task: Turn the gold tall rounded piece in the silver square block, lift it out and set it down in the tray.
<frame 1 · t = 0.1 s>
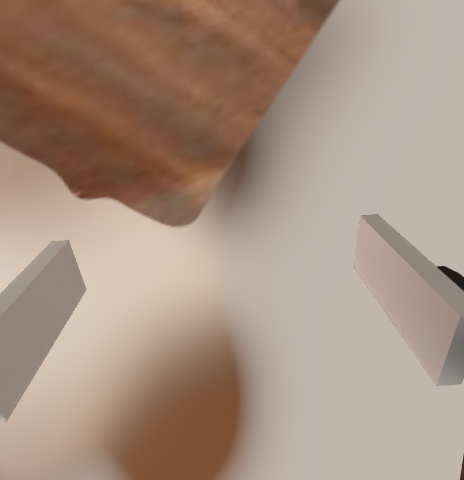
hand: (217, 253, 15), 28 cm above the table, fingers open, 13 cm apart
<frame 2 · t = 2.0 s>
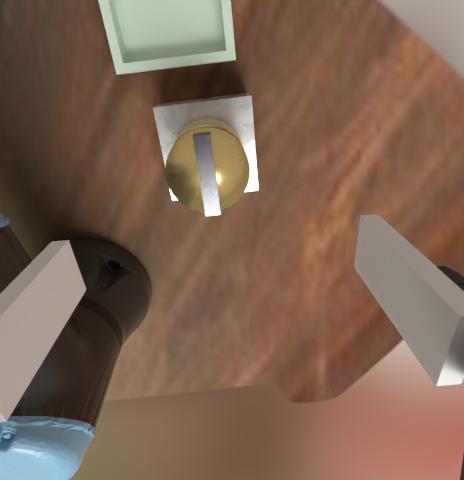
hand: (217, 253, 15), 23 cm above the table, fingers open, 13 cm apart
gold tall rounded piece: (208, 156, 29), in the silver square block
silver square block: (209, 142, 35), on the table
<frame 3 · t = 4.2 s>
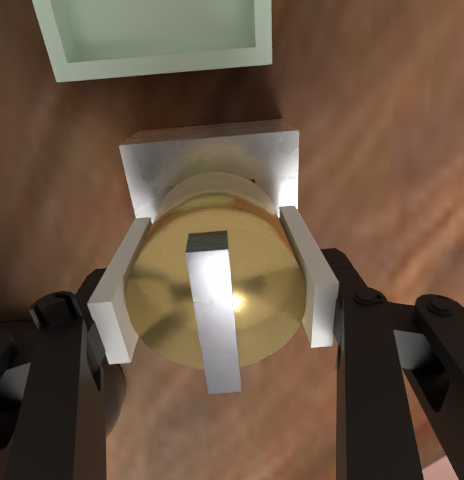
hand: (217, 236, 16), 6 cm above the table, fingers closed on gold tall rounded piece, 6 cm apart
gold tall rounded piece: (217, 237, 16), in the silver square block, touching gripper
silver square block: (217, 193, 22), on the table
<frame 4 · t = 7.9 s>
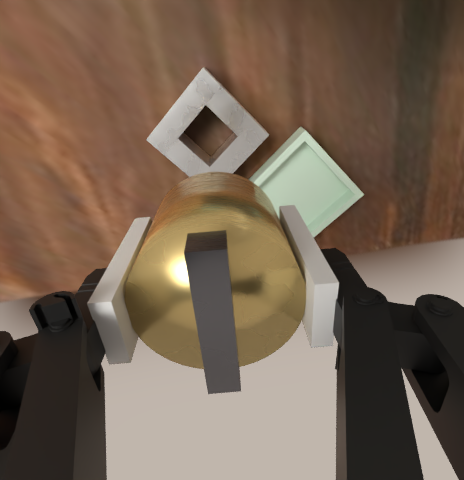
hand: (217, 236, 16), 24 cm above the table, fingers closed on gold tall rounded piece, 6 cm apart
gold tall rounded piece: (217, 237, 16), point 24 cm above the table, touching gripper
tray: (296, 190, 41), on the table
silver square block: (209, 129, 37), on the table
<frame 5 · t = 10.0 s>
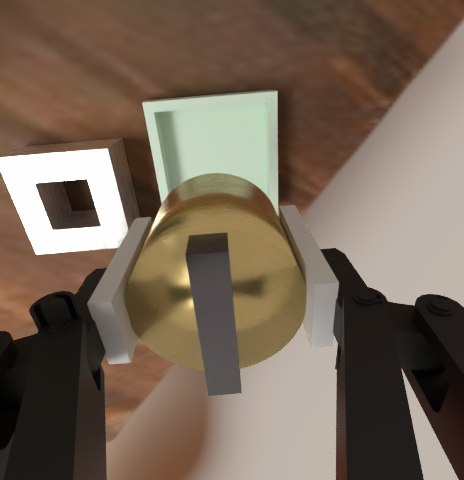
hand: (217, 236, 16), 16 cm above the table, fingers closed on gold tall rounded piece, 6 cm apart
gold tall rounded piece: (217, 238, 16), point 16 cm above the table, touching gripper
tray: (216, 157, 31), on the table
silver square block: (87, 188, 31), on the table
when the fingers open (8 cm above the table, at t = 11.8 s): gold tall rounded piece drops 1 cm, resting on tray.
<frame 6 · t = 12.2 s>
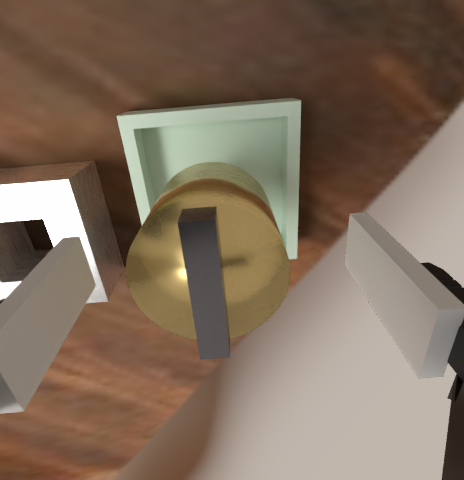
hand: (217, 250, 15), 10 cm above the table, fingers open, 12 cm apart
gold tall rounded piece: (213, 223, 17), in the tray
tray: (217, 184, 24), on the table
silver square block: (53, 223, 25), on the table
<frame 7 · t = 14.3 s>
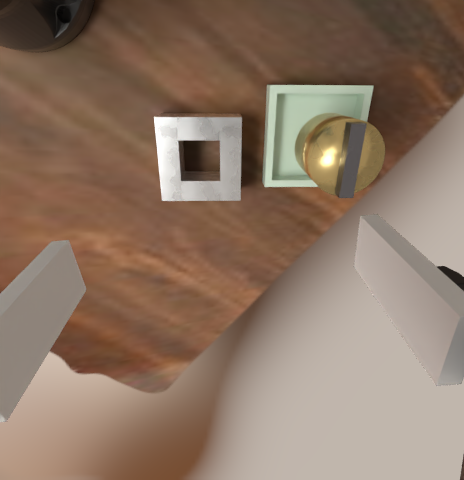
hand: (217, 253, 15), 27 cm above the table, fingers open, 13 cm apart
gold tall rounded piece: (327, 147, 32), in the tray
tray: (310, 136, 38), on the table
silver square block: (202, 153, 39), on the table
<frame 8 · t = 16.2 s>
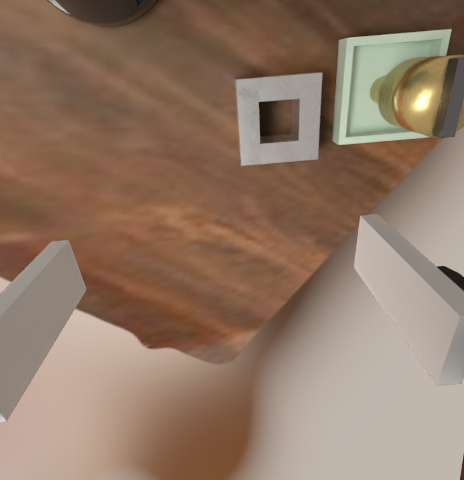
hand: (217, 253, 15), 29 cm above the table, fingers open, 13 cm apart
gold tall rounded piece: (412, 94, 32), in the tray
tray: (380, 90, 38), on the table
silver square block: (273, 116, 39), on the table
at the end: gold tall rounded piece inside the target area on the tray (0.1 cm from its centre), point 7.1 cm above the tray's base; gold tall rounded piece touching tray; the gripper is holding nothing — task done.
